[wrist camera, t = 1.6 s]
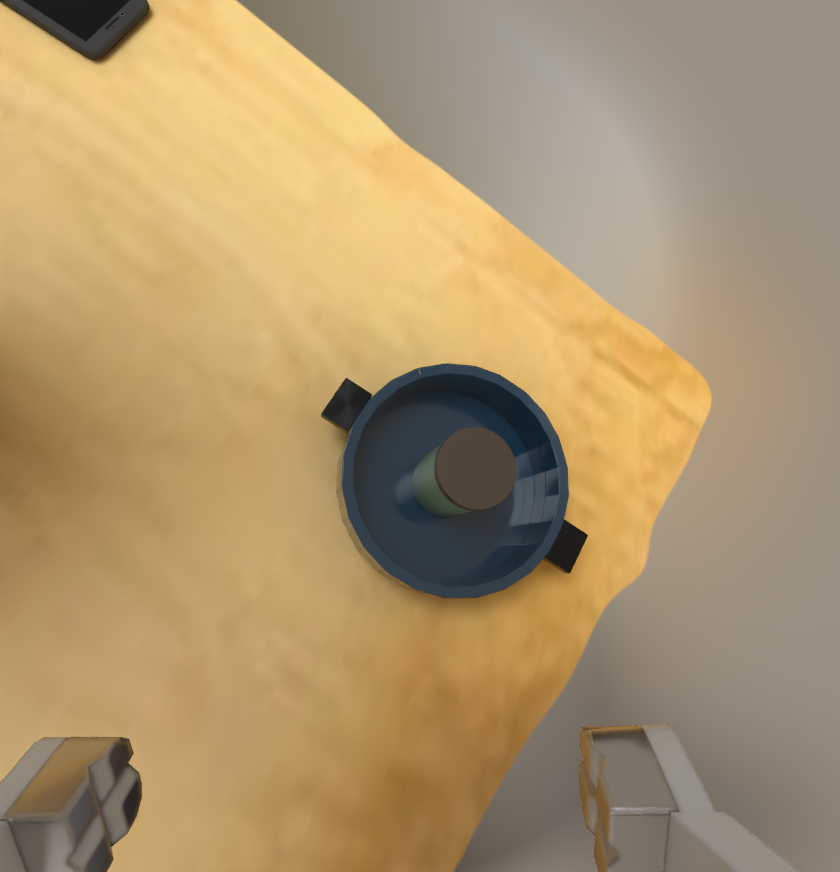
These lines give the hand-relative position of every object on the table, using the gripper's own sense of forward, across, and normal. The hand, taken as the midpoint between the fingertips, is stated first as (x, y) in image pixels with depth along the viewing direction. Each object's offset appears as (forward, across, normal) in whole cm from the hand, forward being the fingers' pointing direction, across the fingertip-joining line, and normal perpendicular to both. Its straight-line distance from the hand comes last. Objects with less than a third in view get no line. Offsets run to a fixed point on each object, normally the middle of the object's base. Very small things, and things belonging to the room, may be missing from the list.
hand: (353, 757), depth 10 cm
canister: (+32, -2, +8) cm, 34 cm away
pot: (+33, -1, +8) cm, 34 cm away
